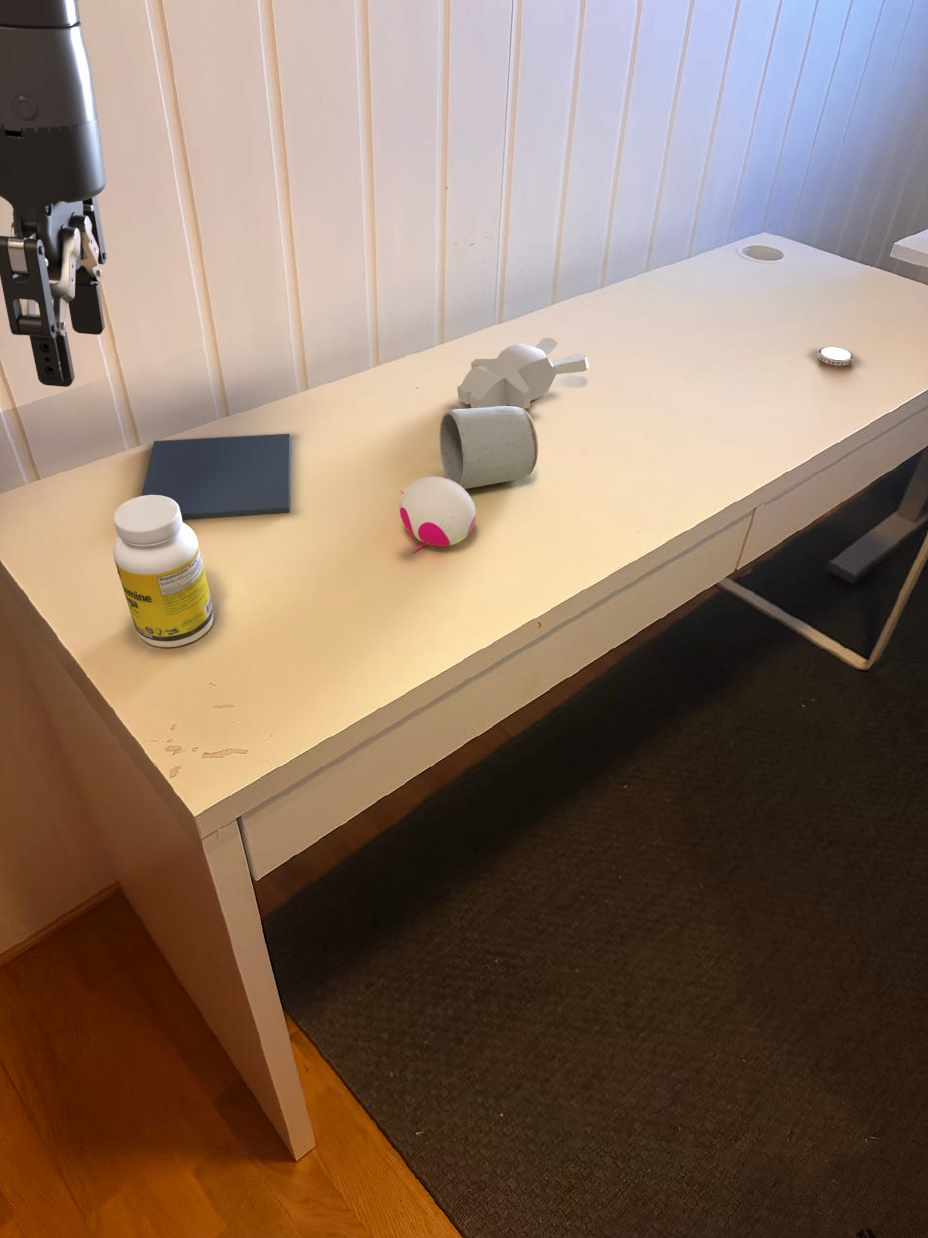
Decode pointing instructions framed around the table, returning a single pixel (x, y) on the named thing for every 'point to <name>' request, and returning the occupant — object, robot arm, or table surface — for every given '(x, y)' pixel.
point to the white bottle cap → (835, 356)
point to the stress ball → (437, 511)
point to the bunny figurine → (516, 375)
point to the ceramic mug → (487, 445)
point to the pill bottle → (161, 572)
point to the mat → (222, 475)
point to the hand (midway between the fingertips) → (74, 356)
